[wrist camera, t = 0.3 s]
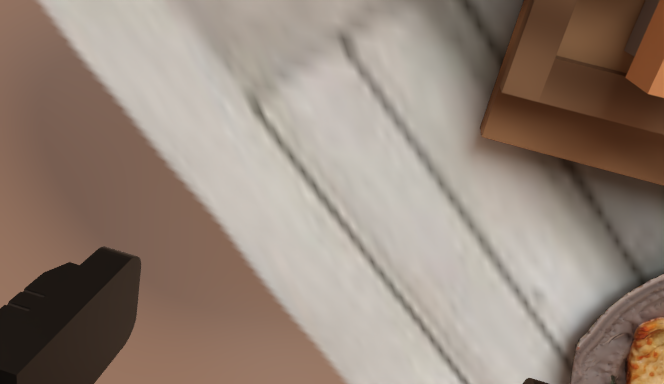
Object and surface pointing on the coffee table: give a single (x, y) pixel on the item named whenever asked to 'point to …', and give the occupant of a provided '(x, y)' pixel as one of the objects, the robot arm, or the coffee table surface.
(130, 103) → the coffee table surface
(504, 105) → the console
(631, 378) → the food plate
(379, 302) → the coffee table surface
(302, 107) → the coffee table surface
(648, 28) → the fader
